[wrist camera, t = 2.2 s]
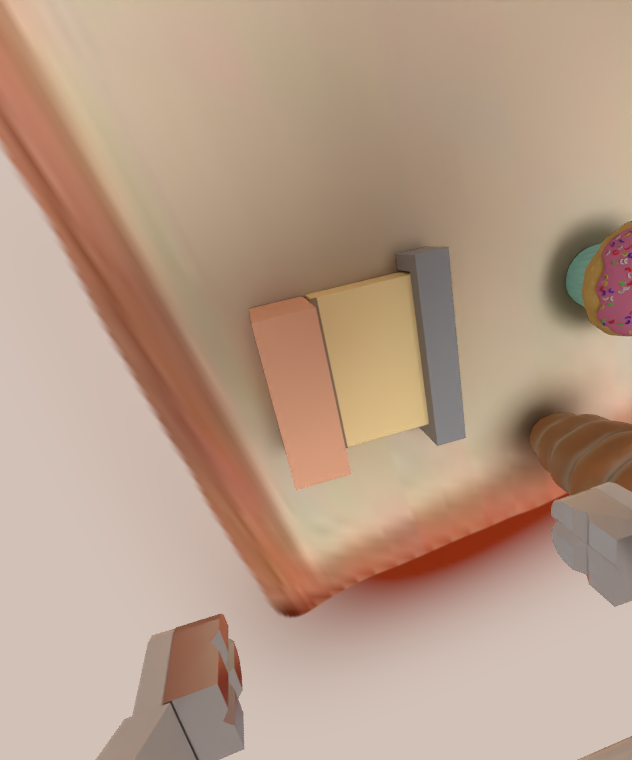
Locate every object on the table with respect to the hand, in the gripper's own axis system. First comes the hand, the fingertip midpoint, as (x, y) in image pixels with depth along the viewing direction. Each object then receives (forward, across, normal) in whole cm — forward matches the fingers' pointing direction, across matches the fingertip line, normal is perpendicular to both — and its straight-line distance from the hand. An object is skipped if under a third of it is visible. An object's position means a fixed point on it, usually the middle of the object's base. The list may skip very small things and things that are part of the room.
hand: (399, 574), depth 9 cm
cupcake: (+23, -27, 0) cm, 35 cm away
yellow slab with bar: (+23, -8, +2) cm, 25 cm away
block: (+23, -1, +2) cm, 23 cm away
